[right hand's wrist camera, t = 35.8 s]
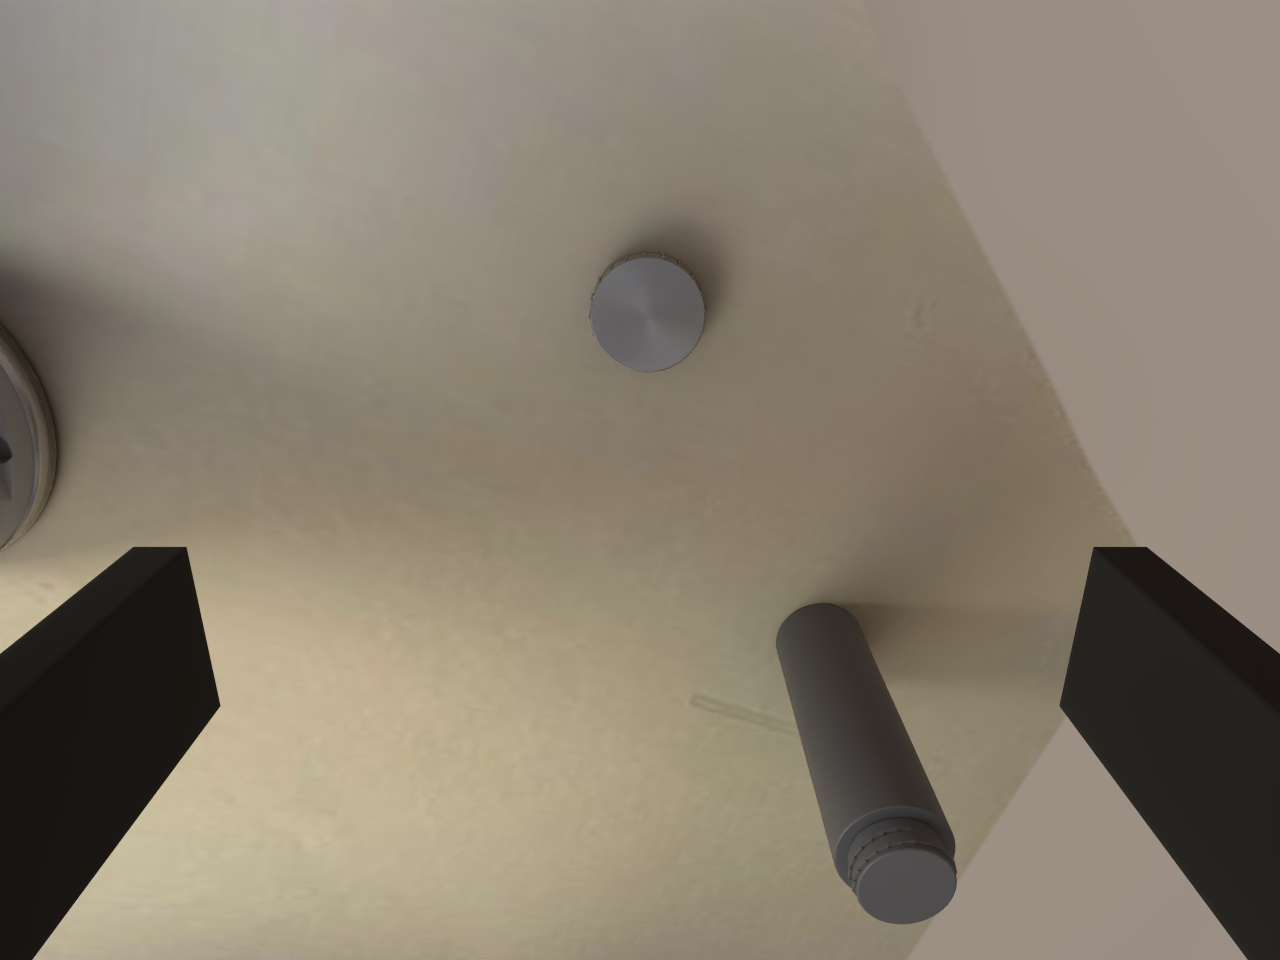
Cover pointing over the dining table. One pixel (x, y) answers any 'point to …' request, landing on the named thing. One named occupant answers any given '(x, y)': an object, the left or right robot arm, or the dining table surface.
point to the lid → (647, 312)
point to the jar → (865, 770)
